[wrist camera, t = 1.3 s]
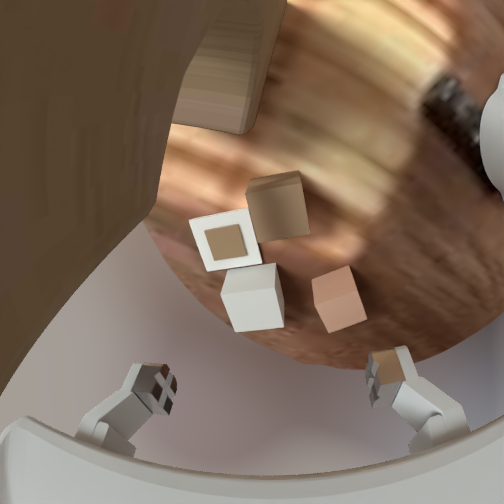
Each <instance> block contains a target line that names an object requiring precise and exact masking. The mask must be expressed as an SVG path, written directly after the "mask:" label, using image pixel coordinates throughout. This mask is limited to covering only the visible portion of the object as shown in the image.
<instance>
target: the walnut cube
mask: <svg viewBox="0 0 504 504" xmlns="http://www.w3.org/2000/svg"><path fill="white" fill-rule="evenodd" d="M245 195H246V199H247V203H248V206H249V210H250V214H251V218H252V222H253V225H254V229H255V233H256V237H257V241H258V243H262V242H268V241H274V240H280V239H286V238H292V237H298V236H304V235H310V229H309V223H308V217H307V211H306V205H305V200H304V194H303V189H302V183H301V179H300V176H299V172H298V170H297V171H291V172H286V173H281V174H275V175H270V176H265V177H260V178H255V179H251V180H250V183H249V185H248V188H247V190H246V193H245Z"/></svg>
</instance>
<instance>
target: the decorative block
mask: <svg viewBox="0 0 504 504" xmlns="http://www.w3.org/2000/svg"><path fill="white" fill-rule="evenodd" d="M286 4H287V0H0V396H1V394H2V392H3V391H4V389H5V387H6V386H7V384H8V382H9V381H10V379H11V377H12V376H13V374H14V373H15V371H16V370H17V368H18V366H19V365H20V364H21V362H22V361H23V359H24V358H25V356H26V355H27V353H28V352H29V350H30V349H31V348H32V346H33V345H34V343H35V342H36V341H37V339H38V338H39V337H40V335H41V334H42V333H43V331H44V330H45V328H46V327H47V326H48V324H49V323H50V322H51V320H52V319H53V318H54V317H55V316H56V314H57V313H58V312H59V310H60V309H61V308H62V307H63V306H64V304H65V303H66V302H67V301H68V300H69V298H70V297H71V296H72V295H73V294H74V292H75V291H76V290H77V289H78V288H79V286H80V285H81V284H82V283H83V282H84V281H85V279H86V278H87V277H88V276H89V275H90V274H91V273H92V272H93V271H94V269H95V268H96V267H97V266H98V265H99V264H100V263H101V262H102V260H104V259H105V257H107V255H108V254H109V253H110V252H111V251H112V250H113V249H114V248H115V247H116V246H117V245H118V244H119V243H120V242H121V241H122V240H123V239H124V238H125V237H126V236H127V235H128V234H129V233H130V232H131V231H132V230H133V229H134V228H135V227H136V226H137V225H138V224H139V223H140V222H141V221H142V220H143V219H144V218H145V217H146V216H147V215H148V214H149V212H150V211H151V209H152V207H153V205H154V204H155V202H156V199H157V192H158V186H159V181H160V175H161V169H162V164H163V159H164V154H165V149H166V145H167V140H168V135H169V131H170V127H171V123H174V124H180V125H187V126H193V127H199V128H205V129H211V130H216V131H221V132H226V133H231V134H236V135H243V134H245V133H246V132H247V131H249V130H250V129H251V128H252V127H253V126H254V124H255V119H256V115H257V111H258V107H259V103H260V99H261V96H262V92H263V88H264V84H265V80H266V76H267V72H268V69H269V65H270V61H271V57H272V54H273V50H274V46H275V43H276V39H277V35H278V32H279V28H280V25H281V21H282V17H283V14H284V10H285V7H286Z"/></svg>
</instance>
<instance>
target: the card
mask: <svg viewBox="0 0 504 504" xmlns="http://www.w3.org/2000/svg"><path fill="white" fill-rule="evenodd" d="M189 223H190V226H191V229H192V232H193V234H194V237H195V240H196V243H197V246H198V248H199V251H200V254H201V256H202V259H203V262H204V264H205V267H206V270H207V271H214V270H221V269H228V268H234V267H241V266H248V265H254V264H261V263H262V258H261V254H260V250H259V246H258V242H257V238H256V234H255V231H254V227H253V223H252V219H251V215H250V211H249V208H248V207H247V208H242V209H237V210H232V211H227V212H222V213H217V214H213V215H208V216H203V217H198V218H194V219H190V220H189Z"/></svg>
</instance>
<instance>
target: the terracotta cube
mask: <svg viewBox="0 0 504 504" xmlns="http://www.w3.org/2000/svg"><path fill="white" fill-rule="evenodd" d="M312 287H313V295H314V303H315V307H316V309H317V311H318V313H319V315H320V317H321V319H322V321H323V323H324V325H325V327H326V329H327V331H328V333H331V332H334V331H336V330H339V329H342V328H345V327H348V326H351V325H353V324H356V323H359V322H361V321H364V320H367V316H366V313H365V310H364V307H363V304H362V300H361V297H360V294H359V291H358V289H357V286H356V283H355V280H354V278H353V275H352V272H351V270H350V267H349V265H347V266H345V267H343V268H340V269H338V270H335V271H333V272H330V273H327V274H325V275H322V276H320V277H317V278H315V279H312Z"/></svg>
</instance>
